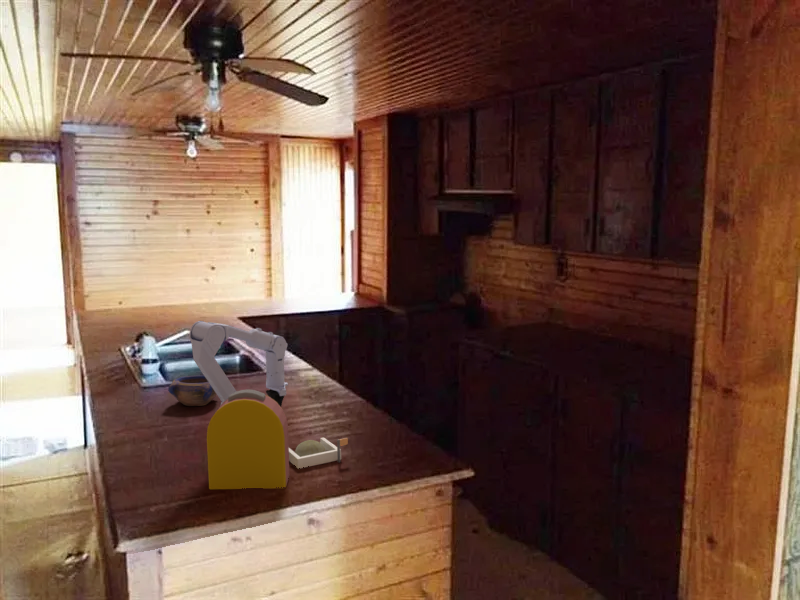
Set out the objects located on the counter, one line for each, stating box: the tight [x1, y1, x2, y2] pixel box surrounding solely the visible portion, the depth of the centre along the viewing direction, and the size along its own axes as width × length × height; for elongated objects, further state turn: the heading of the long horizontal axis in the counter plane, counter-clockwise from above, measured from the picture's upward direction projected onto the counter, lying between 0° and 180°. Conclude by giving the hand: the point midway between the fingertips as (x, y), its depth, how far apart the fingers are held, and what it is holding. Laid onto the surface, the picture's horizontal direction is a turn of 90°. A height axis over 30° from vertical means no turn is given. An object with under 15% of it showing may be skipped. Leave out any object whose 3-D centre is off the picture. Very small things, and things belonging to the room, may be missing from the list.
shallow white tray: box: [289, 437, 349, 470], centre depth 206 cm, size 16×14×7 cm
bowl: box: [167, 375, 218, 407], centre depth 261 cm, size 18×18×10 cm
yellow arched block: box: [206, 388, 290, 490], centre depth 187 cm, size 21×9×26 cm, turn 92°
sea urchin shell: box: [294, 439, 326, 457], centre depth 207 cm, size 9×8×8 cm
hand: (276, 411), depth 221 cm, fingers closed
